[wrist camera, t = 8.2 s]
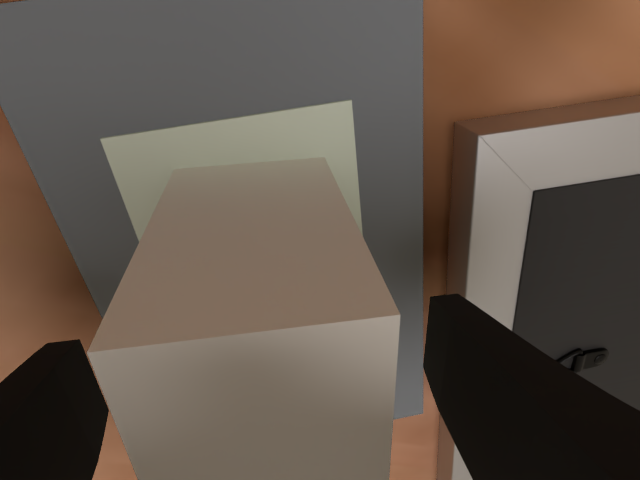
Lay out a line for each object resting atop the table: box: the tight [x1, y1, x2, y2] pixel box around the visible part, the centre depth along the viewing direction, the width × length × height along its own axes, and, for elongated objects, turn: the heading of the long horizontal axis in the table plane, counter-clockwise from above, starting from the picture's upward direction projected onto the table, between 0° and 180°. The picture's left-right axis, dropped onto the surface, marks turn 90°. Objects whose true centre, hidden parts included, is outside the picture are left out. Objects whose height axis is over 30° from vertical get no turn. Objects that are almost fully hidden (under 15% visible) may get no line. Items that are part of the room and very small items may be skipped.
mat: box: [0, 0, 423, 420], centre depth 12 cm, size 14×9×1 cm, turn 7°
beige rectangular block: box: [87, 157, 400, 480], centre depth 9 cm, size 4×6×6 cm, turn 2°
